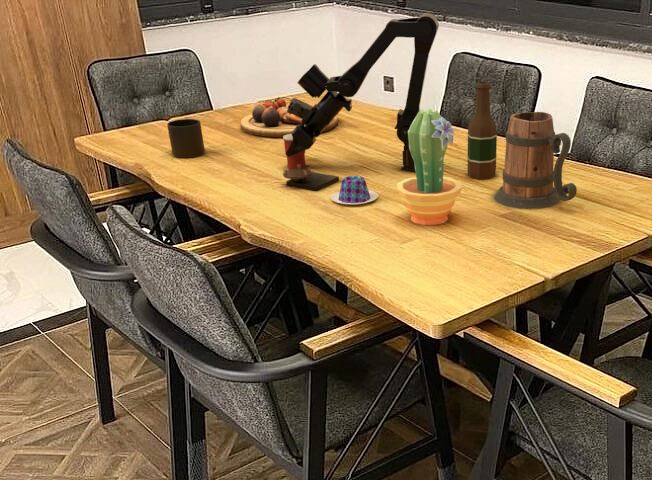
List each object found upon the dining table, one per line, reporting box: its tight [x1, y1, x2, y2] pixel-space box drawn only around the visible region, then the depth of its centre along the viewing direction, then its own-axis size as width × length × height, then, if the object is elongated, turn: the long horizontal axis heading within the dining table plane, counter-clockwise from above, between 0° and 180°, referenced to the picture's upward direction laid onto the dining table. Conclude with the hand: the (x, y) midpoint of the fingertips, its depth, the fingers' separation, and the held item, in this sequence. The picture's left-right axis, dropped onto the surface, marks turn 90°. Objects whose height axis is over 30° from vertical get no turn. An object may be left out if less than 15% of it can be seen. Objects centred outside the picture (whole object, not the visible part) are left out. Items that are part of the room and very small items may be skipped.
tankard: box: [493, 111, 578, 210], centre depth 203 cm, size 24×17×20 cm
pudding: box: [330, 175, 379, 205], centre depth 210 cm, size 12×12×5 cm
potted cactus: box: [396, 108, 462, 226], centre depth 192 cm, size 15×15×25 cm
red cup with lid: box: [282, 134, 307, 170], centre depth 233 cm, size 6×6×9 cm
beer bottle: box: [467, 81, 498, 180], centre depth 220 cm, size 8×8×24 cm
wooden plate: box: [239, 96, 339, 138], centre depth 273 cm, size 32×32×8 cm
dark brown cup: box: [166, 118, 206, 159], centre depth 247 cm, size 9×12×9 cm
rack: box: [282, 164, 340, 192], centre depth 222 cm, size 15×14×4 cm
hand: (290, 151), depth 233 cm, fingers open, 9 cm apart
